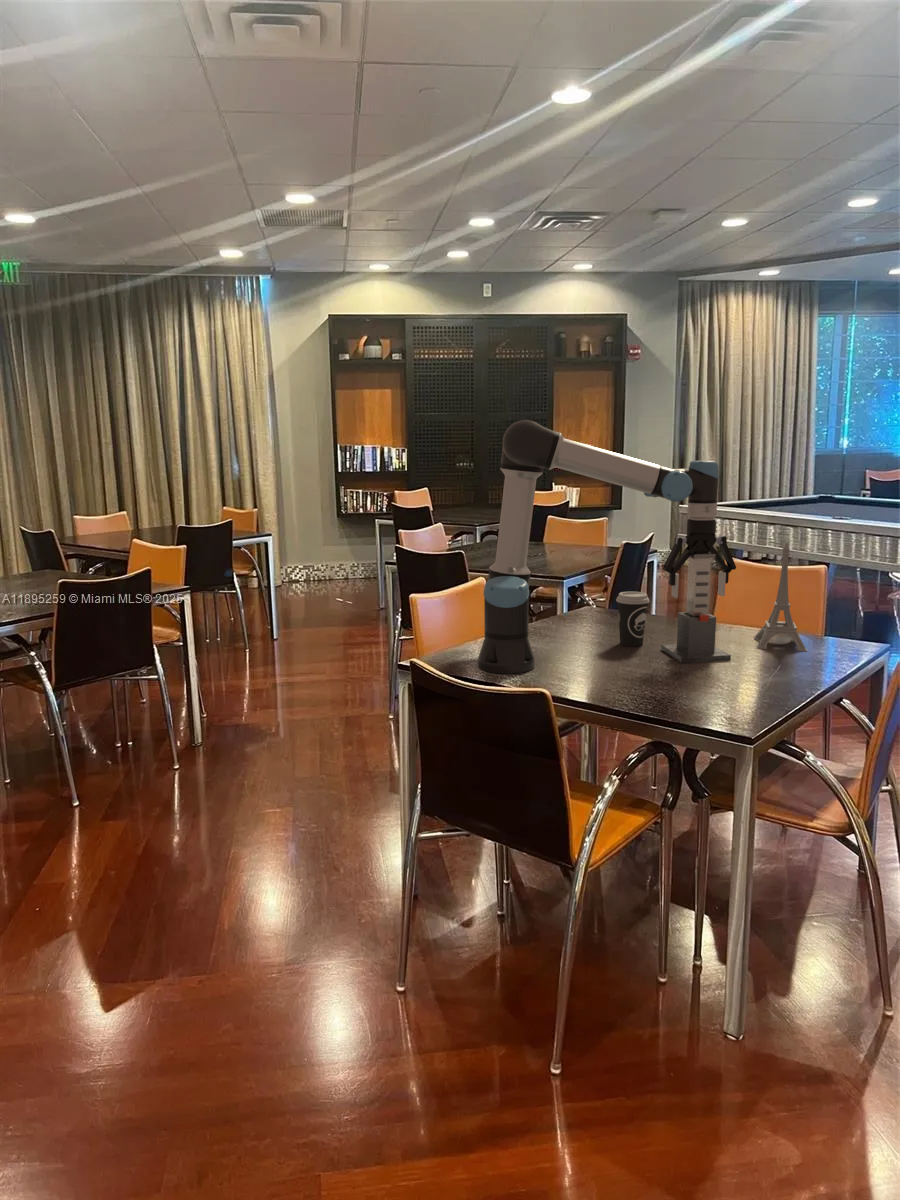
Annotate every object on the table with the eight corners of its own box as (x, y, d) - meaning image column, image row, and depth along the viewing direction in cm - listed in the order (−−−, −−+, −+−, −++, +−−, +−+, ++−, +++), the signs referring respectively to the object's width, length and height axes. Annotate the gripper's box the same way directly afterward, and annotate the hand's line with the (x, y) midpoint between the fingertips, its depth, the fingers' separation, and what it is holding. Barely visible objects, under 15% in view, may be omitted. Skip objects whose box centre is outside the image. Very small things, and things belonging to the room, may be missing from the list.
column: (689, 652, 224) (694, 554, 219) (680, 647, 230) (684, 551, 224) (710, 651, 225) (715, 553, 219) (700, 646, 231) (705, 550, 225)
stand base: (681, 663, 220) (683, 618, 218) (661, 649, 234) (663, 607, 231) (730, 660, 222) (733, 616, 219) (707, 647, 235) (710, 605, 233)
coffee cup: (645, 640, 245) (647, 591, 242) (650, 648, 235) (652, 597, 232) (613, 639, 246) (614, 590, 243) (616, 647, 236) (618, 597, 233)
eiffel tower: (753, 638, 246) (759, 539, 240) (800, 640, 243) (808, 540, 237) (757, 649, 234) (763, 545, 228) (807, 651, 230) (815, 546, 224)
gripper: (663, 521, 215) (660, 600, 219) (751, 518, 218) (747, 597, 222) (652, 518, 222) (649, 595, 226) (738, 516, 225) (734, 591, 230)
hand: (697, 596), depth 224 cm, fingers open, 13 cm apart
